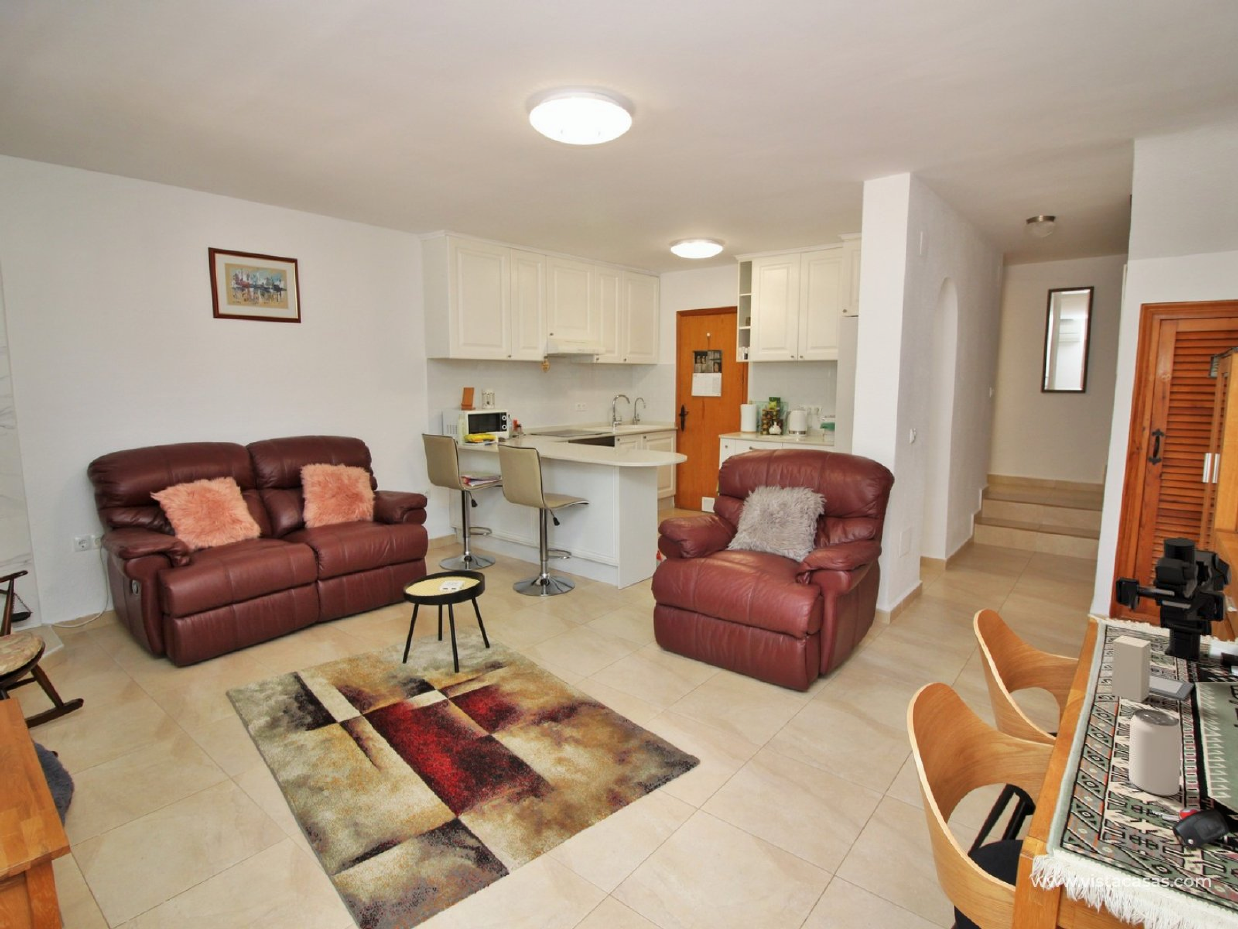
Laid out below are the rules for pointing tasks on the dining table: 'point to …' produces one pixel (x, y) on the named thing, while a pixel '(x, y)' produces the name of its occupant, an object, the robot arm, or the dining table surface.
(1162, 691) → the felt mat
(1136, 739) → the can
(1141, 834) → the dining table surface
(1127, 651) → the cream block
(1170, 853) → the dining table surface
